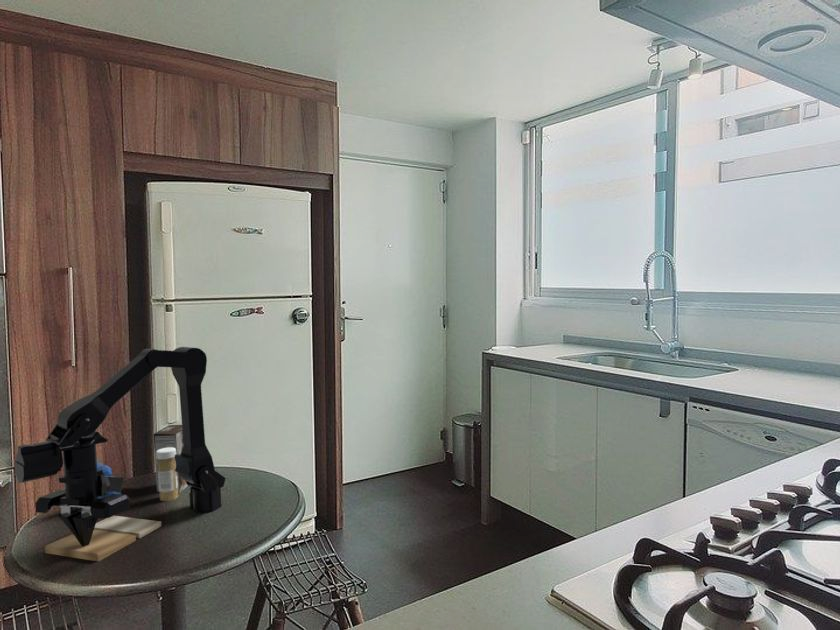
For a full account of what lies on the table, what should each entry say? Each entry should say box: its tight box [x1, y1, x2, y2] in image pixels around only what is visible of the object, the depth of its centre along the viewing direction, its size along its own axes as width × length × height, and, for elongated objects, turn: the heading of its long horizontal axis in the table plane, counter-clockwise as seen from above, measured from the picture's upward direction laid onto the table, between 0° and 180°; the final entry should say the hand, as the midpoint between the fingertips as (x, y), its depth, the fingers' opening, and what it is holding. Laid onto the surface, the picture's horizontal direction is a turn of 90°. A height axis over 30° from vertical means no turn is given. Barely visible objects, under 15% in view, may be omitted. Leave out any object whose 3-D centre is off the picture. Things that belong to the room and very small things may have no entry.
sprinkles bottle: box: [156, 447, 179, 502], centre depth 137 cm, size 5×5×13 cm
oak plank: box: [44, 530, 137, 562], centre depth 112 cm, size 14×9×2 cm, turn 72°
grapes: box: [97, 461, 122, 499], centre depth 132 cm, size 12×7×12 cm, turn 71°
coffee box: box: [152, 424, 188, 494], centre depth 147 cm, size 9×6×16 cm
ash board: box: [94, 515, 162, 539], centre depth 120 cm, size 14×6×2 cm, turn 72°
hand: (85, 545), depth 109 cm, fingers closed, pressing on oak plank
